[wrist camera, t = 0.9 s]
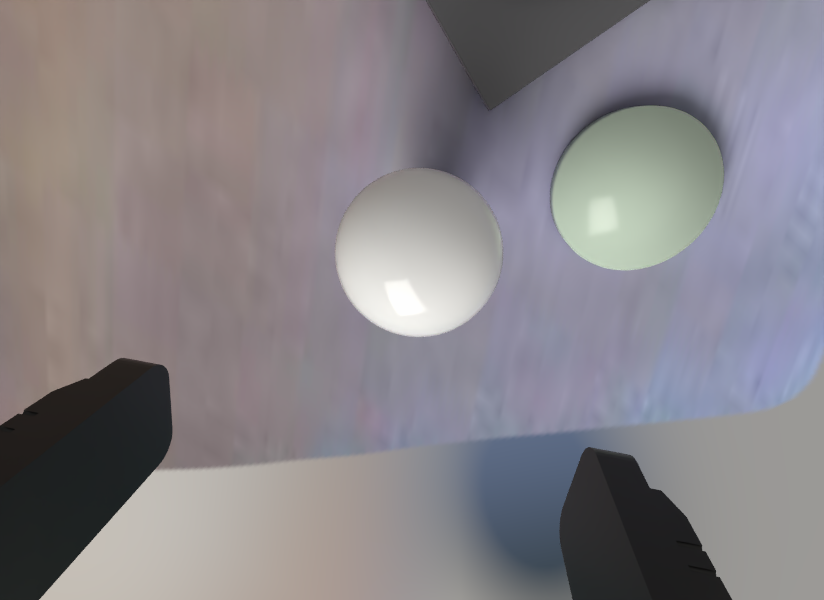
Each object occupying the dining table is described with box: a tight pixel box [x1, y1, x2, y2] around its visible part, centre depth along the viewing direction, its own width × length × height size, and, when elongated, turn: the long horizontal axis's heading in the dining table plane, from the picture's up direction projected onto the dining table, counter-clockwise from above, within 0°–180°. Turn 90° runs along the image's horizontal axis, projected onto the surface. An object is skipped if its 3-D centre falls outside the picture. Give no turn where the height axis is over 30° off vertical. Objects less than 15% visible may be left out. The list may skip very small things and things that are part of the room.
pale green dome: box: [550, 105, 724, 270], centre depth 23 cm, size 8×8×1 cm
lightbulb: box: [335, 168, 503, 337], centre depth 20 cm, size 6×6×11 cm
